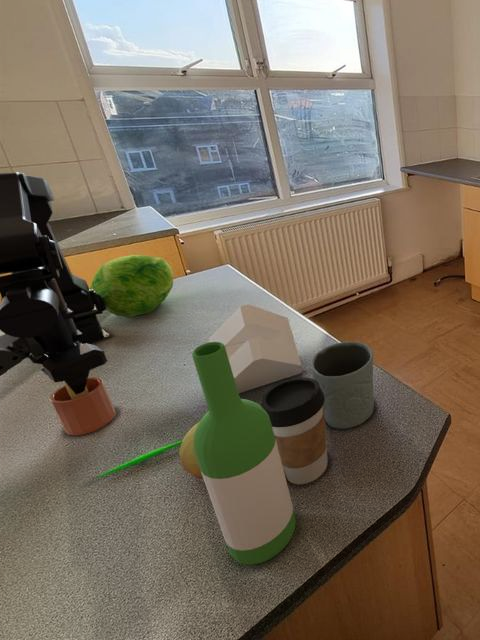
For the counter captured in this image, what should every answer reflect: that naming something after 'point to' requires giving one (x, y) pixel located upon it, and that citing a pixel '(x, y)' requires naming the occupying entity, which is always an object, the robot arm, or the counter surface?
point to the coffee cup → (298, 427)
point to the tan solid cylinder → (72, 394)
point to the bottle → (240, 464)
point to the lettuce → (133, 284)
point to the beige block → (258, 347)
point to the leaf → (142, 458)
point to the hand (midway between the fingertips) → (77, 390)
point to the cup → (84, 408)
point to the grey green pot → (345, 383)
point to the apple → (189, 454)
